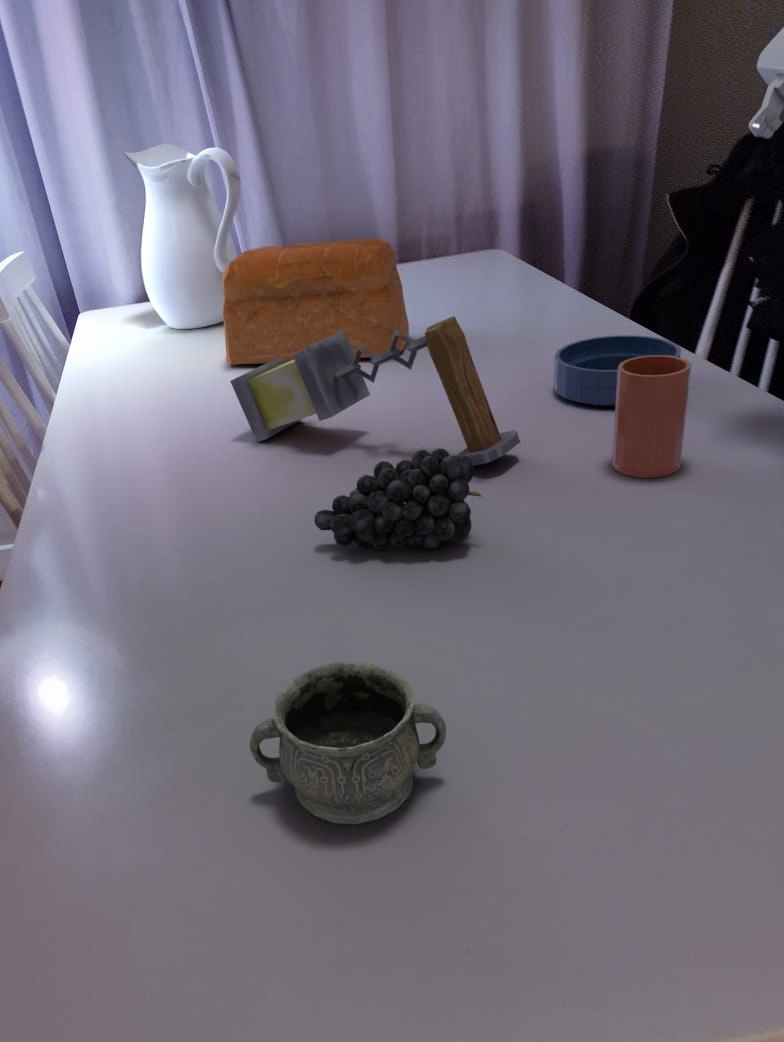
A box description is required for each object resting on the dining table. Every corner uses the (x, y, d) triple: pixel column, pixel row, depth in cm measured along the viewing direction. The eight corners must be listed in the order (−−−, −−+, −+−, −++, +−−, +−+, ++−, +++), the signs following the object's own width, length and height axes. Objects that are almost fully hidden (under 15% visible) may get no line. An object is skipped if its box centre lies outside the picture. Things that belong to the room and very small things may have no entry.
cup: (670, 450, 96) (679, 352, 91) (688, 474, 91) (699, 372, 85) (606, 456, 97) (611, 359, 91) (620, 480, 91) (627, 379, 86)
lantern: (287, 513, 115) (493, 462, 94) (230, 380, 110) (433, 295, 89) (324, 488, 120) (528, 435, 98) (271, 361, 115) (473, 275, 93)
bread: (246, 343, 151) (231, 243, 143) (412, 333, 144) (406, 227, 136) (221, 370, 140) (203, 263, 132) (400, 360, 133) (392, 247, 125)
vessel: (439, 729, 62) (435, 650, 59) (458, 822, 55) (454, 738, 52) (260, 747, 63) (246, 670, 60) (255, 841, 56) (238, 759, 52)
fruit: (301, 463, 80) (479, 446, 78) (314, 457, 88) (476, 442, 86) (311, 563, 82) (485, 549, 80) (323, 548, 90) (482, 536, 88)
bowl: (659, 366, 118) (662, 330, 116) (692, 403, 106) (696, 363, 104) (545, 378, 119) (546, 342, 117) (565, 415, 108) (566, 376, 105)
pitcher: (133, 328, 169) (97, 155, 154) (207, 304, 177) (180, 139, 163) (214, 344, 153) (182, 153, 138) (291, 317, 162) (269, 135, 147)
